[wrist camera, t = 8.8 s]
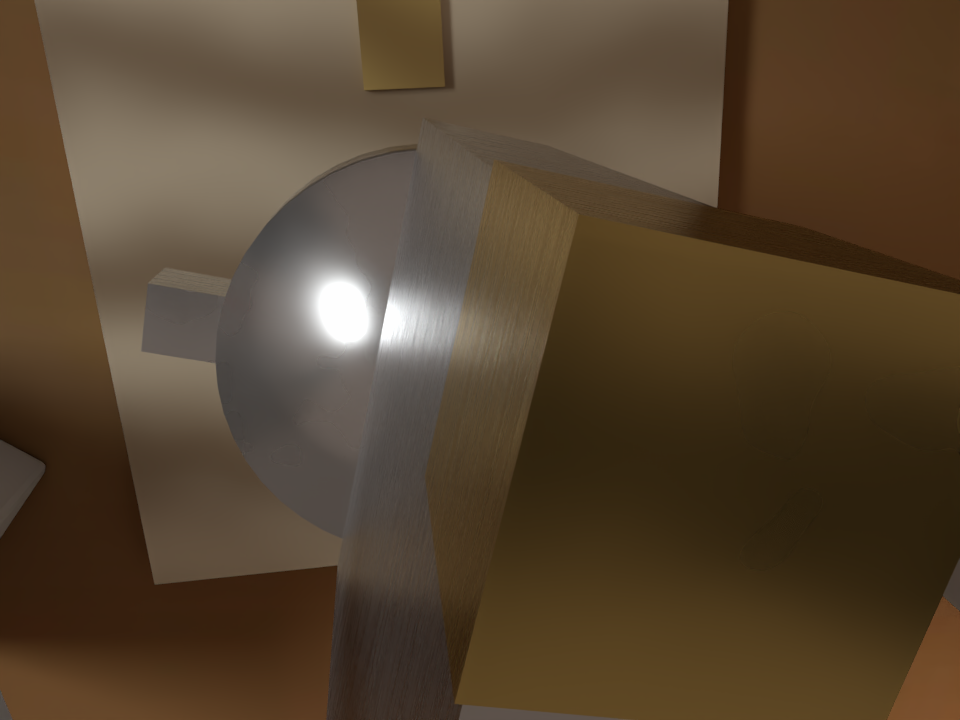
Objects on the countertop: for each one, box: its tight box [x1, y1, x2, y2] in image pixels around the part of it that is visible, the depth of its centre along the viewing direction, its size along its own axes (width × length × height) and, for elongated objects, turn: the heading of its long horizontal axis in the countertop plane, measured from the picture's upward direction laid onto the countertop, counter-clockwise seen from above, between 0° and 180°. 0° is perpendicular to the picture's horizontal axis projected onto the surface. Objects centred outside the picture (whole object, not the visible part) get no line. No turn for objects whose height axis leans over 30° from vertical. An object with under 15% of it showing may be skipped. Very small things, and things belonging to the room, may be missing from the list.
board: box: [35, 0, 728, 585], centre depth 27 cm, size 20×20×2 cm
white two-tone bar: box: [141, 118, 960, 720], centre depth 13 cm, size 13×11×16 cm
